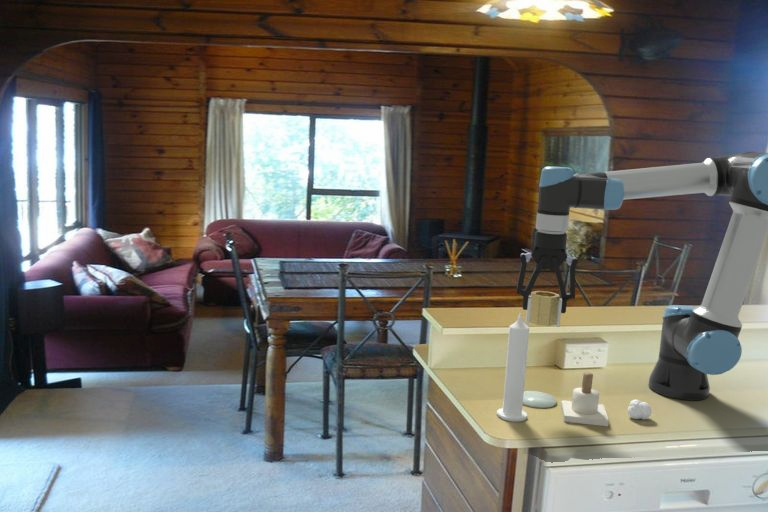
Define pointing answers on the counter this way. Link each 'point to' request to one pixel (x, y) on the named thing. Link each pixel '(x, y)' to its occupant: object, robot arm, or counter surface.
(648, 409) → the microfossil shell
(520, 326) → the candle
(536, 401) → the coaster
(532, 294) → the brass hex nut
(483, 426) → the counter surface
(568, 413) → the stand
